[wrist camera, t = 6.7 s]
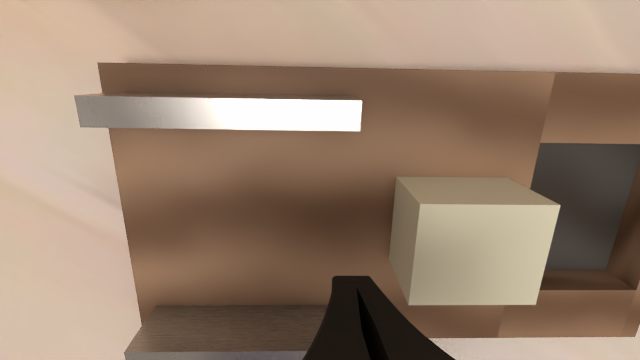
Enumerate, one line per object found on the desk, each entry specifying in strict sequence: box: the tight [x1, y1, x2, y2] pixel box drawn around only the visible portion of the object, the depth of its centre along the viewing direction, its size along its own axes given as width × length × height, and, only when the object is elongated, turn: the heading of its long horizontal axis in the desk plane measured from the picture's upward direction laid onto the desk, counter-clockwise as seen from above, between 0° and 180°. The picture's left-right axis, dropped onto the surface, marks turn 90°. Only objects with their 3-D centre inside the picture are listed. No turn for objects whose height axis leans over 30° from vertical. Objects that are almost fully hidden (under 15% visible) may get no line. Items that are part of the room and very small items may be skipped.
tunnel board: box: [98, 63, 640, 338], centre depth 20 cm, size 16×31×2 cm, turn 89°
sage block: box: [389, 177, 561, 305], centre depth 17 cm, size 5×6×4 cm
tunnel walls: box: [74, 92, 362, 360], centre depth 16 cm, size 13×11×4 cm
